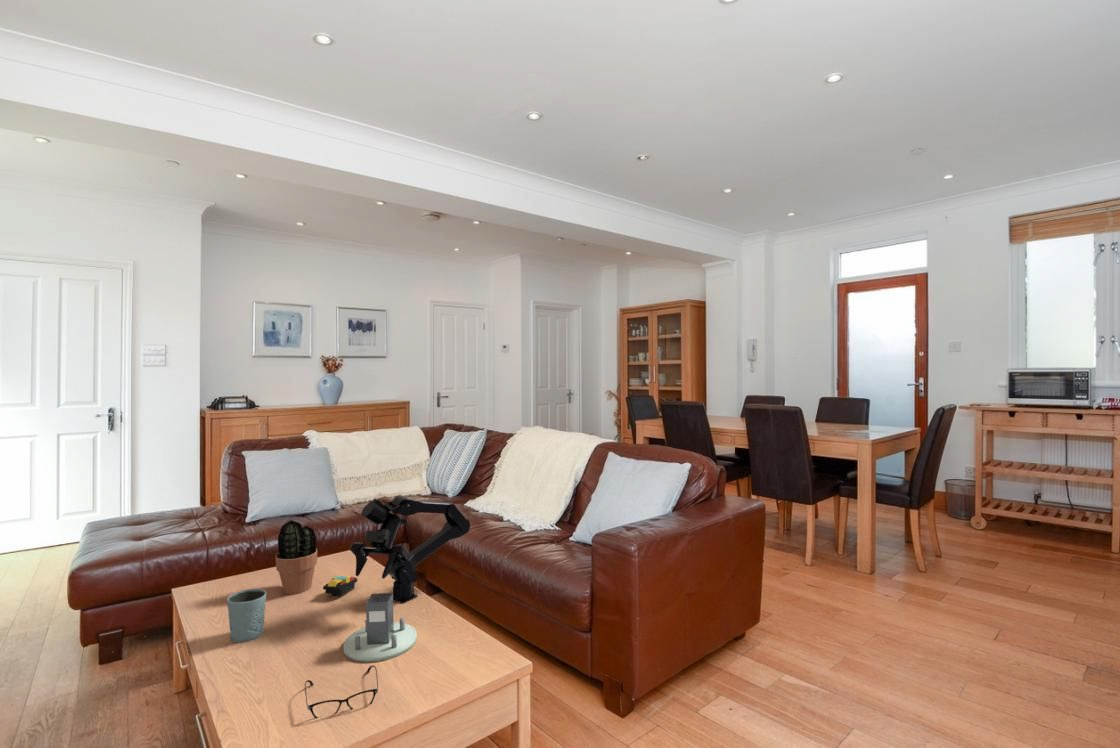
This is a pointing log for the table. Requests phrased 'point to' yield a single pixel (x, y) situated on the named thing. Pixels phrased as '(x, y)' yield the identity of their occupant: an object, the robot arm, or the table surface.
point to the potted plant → (296, 557)
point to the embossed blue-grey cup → (246, 614)
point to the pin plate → (377, 652)
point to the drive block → (379, 618)
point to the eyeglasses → (341, 700)
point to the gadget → (340, 585)
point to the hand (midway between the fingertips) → (369, 577)
